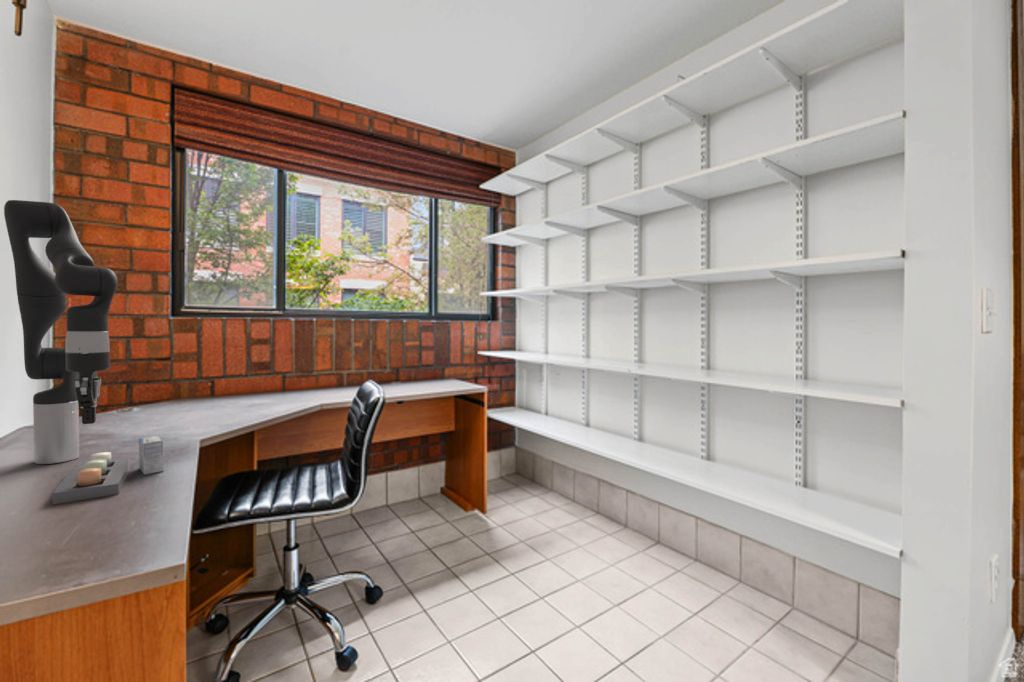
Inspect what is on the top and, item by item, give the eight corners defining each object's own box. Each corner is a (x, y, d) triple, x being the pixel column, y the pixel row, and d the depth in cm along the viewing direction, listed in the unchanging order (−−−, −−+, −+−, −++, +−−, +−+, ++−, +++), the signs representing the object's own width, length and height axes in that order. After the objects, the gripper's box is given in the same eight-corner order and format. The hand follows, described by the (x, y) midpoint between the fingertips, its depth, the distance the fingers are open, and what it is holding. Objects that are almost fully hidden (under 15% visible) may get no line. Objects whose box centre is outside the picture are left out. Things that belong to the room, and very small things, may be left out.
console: (75, 474, 117) (75, 465, 117) (130, 467, 124) (130, 458, 124) (52, 504, 98) (52, 493, 98) (118, 494, 104) (118, 483, 104)
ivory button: (92, 464, 117) (92, 453, 117) (112, 462, 120) (112, 451, 120) (89, 468, 114) (89, 457, 114) (110, 465, 117) (109, 454, 117)
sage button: (86, 472, 111) (86, 461, 111) (107, 469, 113) (107, 458, 113) (83, 477, 108) (83, 465, 108) (105, 474, 110) (105, 462, 110)
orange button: (79, 482, 105) (79, 469, 104) (102, 478, 107) (102, 466, 107) (76, 487, 101) (76, 474, 101) (99, 483, 104) (99, 471, 104)
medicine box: (164, 471, 121) (163, 440, 120) (143, 475, 117) (142, 443, 117) (159, 465, 126) (158, 435, 126) (138, 468, 123) (138, 438, 123)
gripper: (72, 349, 106) (73, 420, 107) (58, 352, 96) (59, 430, 96) (113, 348, 111) (114, 416, 111) (105, 351, 100) (106, 426, 101)
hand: (89, 423), depth 104 cm, fingers closed
